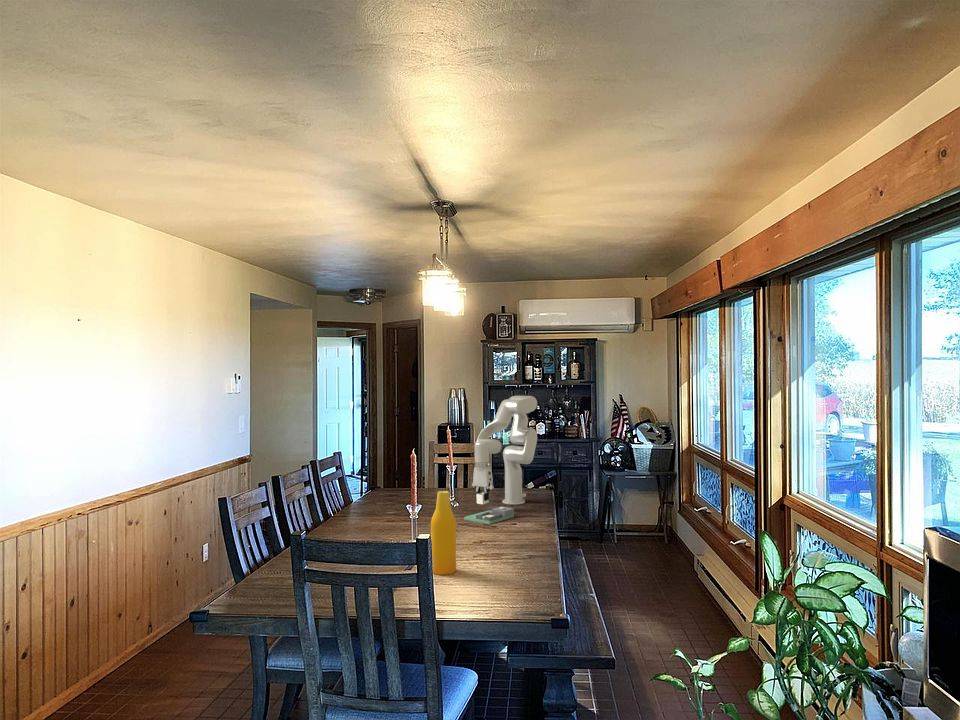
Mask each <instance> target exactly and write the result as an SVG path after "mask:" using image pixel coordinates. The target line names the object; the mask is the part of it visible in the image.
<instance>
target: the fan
mask: <svg viewBox="0 0 960 720" xmlns="http://www.w3.org/2000/svg"><path fill="white" fill-rule="evenodd" d="M491 511H492V513H497V514H502V517H507V516H511V515H514V516H515V508H513V507H506V506H499V507H498V506H497V507H495V508H491Z"/></svg>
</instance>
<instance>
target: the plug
mask: <svg viewBox="0 0 960 720" xmlns="http://www.w3.org/2000/svg"><path fill="white" fill-rule="evenodd" d="M484 493H485V491H482V492H481V493H477V492H476V504H478V505H486V504H488V503H490V501H489V500H487V501H484Z"/></svg>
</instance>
